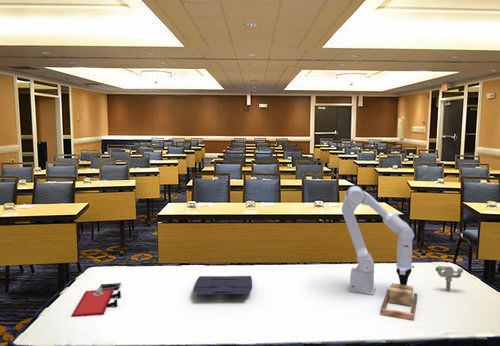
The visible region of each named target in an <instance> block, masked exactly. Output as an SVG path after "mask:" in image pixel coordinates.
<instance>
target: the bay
mask: <svg viewBox="0 0 500 346" xmlns="http://www.w3.org/2000/svg"><path fill="white" fill-rule="evenodd" d="M389 293H390V289H389V288H388V289H387V290H386V293H385V296H384V298H383V301H382V304H381V306H380V310H379V311H380V312H379V314H380V315H382V316H385V317H386V316H387V317H391V318H397V319H403V320H408V321H414V319H415V314H416V308H417V307H416V306H417V301H418V293H415V292H414V293H413V297H412V303H411V306H410V312H405V311H402V310H401V311H399V310H394V309H389V308H387V307H388V303H389Z"/></svg>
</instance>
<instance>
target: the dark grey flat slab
mask: <svg viewBox="0 0 500 346" xmlns="http://www.w3.org/2000/svg"><path fill="white" fill-rule="evenodd" d="M252 279H253V277H252V276H251V275H229V276H228V275H225V276H223V275H222V276H221V275H218V276H217V275H213V276H212V275H209V276H208V275H206V276H205V275H204V276H201V275H200V276H198V278H197V279H196V281H195V284H194V286H193V292H194V293H195V295H247V294H249V292H252V290H253V280H252Z"/></svg>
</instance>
